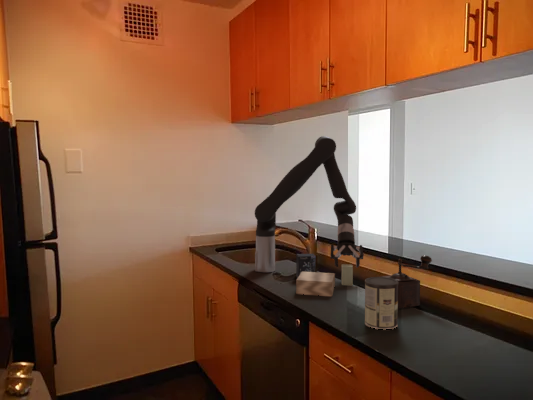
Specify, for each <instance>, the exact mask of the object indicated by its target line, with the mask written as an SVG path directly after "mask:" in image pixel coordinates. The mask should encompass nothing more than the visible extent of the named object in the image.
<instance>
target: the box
mask: <svg viewBox="0 0 533 400" xmlns="http://www.w3.org/2000/svg"><path fill="white" fill-rule="evenodd" d="M316 259H317V257H316V255H315V253H296V261H295V262H296V265H295V268H296V269H295V271H296V272H295V276H296V279H297V278H298V277H299V275H300V274H301V272H316V263H317V262H316Z"/></svg>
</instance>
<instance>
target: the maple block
mask: <svg viewBox="0 0 533 400" xmlns="http://www.w3.org/2000/svg"><path fill="white" fill-rule="evenodd" d="M335 277H336V273H334V272H317V271H315V272H301V274H300V275H299V277H298V278H297V277H296V285H295V286H296V291H295V293H296V295H303V294H304V295H305V296H318V295H319V296H321V297H333V294H334V291H335V288H334V287H335V286H336V283H335V282H336V278H335Z"/></svg>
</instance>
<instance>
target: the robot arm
mask: <svg viewBox="0 0 533 400" xmlns="http://www.w3.org/2000/svg"><path fill="white" fill-rule="evenodd" d="M336 151H337V143H336V141H335V140H334V139H333V138H332V137H329V136H327V135H321V136H319V137H318V138H317V139H316V141H315V142H314V148H313V149H312V150H311V151H310V153H309V154H308V155H307V156H306V157H305V158H304V159H303V160H301V161H300V162H298V163H297V164H296V165H294V166H293V167H292V168H291V169H290V170H289V171H288V172H287V173H286V175H284V177H283V178H282V179H281V181H280V182H279V183H278V184H277V186H276V187H275V188H274V190H273V191H272V192H271V193H270V194H269V195H268V196H267V197H266V198H265V199H263V201H261V202H260V203H259V204H258V205H257V206H256V207H255V210H254V217H255V219H256V228H255V251H254V259H255V260H254V264H255V266H254V267H255V268H254V271H255V272H258V273H272V272H274V271H276V228H277V227H276V225H277V224H276V223H277V222H276V221H277V217H276V216H277V212H278V210H279V209H280V207H282V205H284V203H286V202H287V201H289V199H290V198H291V197H292V196H294V195H295V194H296V193H297V192H298V191H300V190H301V188H302V187H303V186H304V185H305V184H306V183H307V182H308V180H309V179H310V178H311V177H312V176H313V175H314V173H316V171H317V169H319V168H320V167H321V166H322V165H323V167H324V170H325V174H326V176H327V177H326V178H327V180H328V183H329V184H328V185H329V186H330V187H329V188H330V190H331V193H332V196H333V198H334V199H343V200H342V201H341V200H340V201H337V202H335V204H334V205H333V212H334V214H335V217H336V219H337V235H336V236H337V245H334V244H331V245H330V259H331V260H332V259H334V266H335V267H337V268H338V267H339V258H341V256H345V257H346V256H349V257H350V256H351V257H353V258H354V259H355V267H356V268H359V267H360V264H361V263H360V262H361V261H360V260H363V259H364V249H363V245H362V244H360V245H358V246H357V245H356V244H355V240H356V239H355V230H354V218H353V217H352V216H351V215H353V214H355V213H356V211H357V205H356V203H355V201H354V200H353V198H352V197H351V195H350V193H349V192H348V189H347V186H346V183H345V182H346V181H345V180H344V176H343V175H342V172H341V171H340V167H339V166H338V163H337V160H336V155H335V152H336ZM336 250H337V252H336V254H334V252H335V251H336ZM356 250H357V251H356ZM358 252H359V254H358Z"/></svg>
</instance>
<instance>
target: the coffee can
mask: <svg viewBox="0 0 533 400" xmlns="http://www.w3.org/2000/svg"><path fill="white" fill-rule="evenodd" d="M398 284H399V282H398V281H397V280H395V279H392V278H386V277H382V276H371V277H367V278H365V279H364V325H365V326H366V327H368V328H370V327H371V329H373V328H375V330H378V329H383V330H382V331H387V330H386V329H392V330H394V328H395V329H396V327H397V328H398V324H399V323H398V314H399V312H398V310H399V309H398Z"/></svg>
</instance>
